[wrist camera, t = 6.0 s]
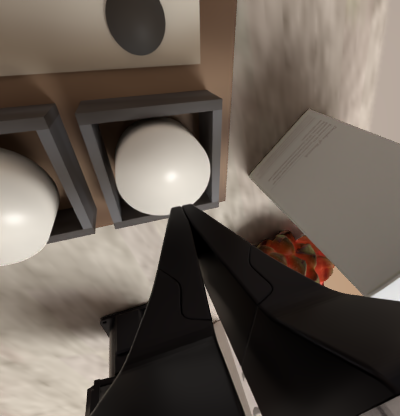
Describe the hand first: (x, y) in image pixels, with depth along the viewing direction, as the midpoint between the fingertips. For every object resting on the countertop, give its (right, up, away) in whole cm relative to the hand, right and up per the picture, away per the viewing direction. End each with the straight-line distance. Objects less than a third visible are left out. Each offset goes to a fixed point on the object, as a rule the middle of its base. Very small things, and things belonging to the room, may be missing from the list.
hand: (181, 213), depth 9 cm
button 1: (-2, +3, +5) cm, 6 cm away
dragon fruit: (+10, -4, +19) cm, 22 cm away
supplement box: (+10, +5, +12) cm, 16 cm away
